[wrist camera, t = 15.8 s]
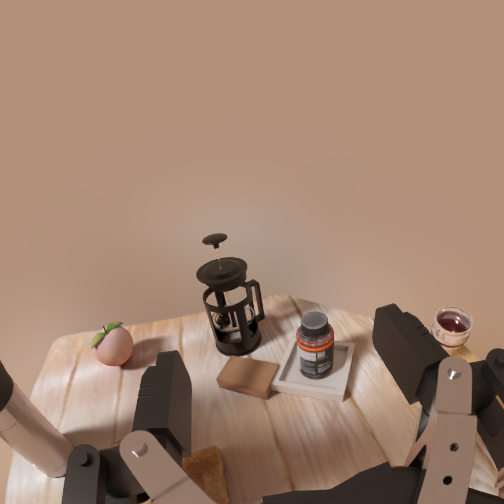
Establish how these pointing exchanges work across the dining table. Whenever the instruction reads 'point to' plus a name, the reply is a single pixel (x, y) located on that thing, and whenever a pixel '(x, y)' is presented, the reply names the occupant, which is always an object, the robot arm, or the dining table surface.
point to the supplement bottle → (315, 346)
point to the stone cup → (201, 474)
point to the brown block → (247, 376)
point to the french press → (233, 315)
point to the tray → (324, 388)
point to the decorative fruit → (113, 345)
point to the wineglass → (451, 327)
